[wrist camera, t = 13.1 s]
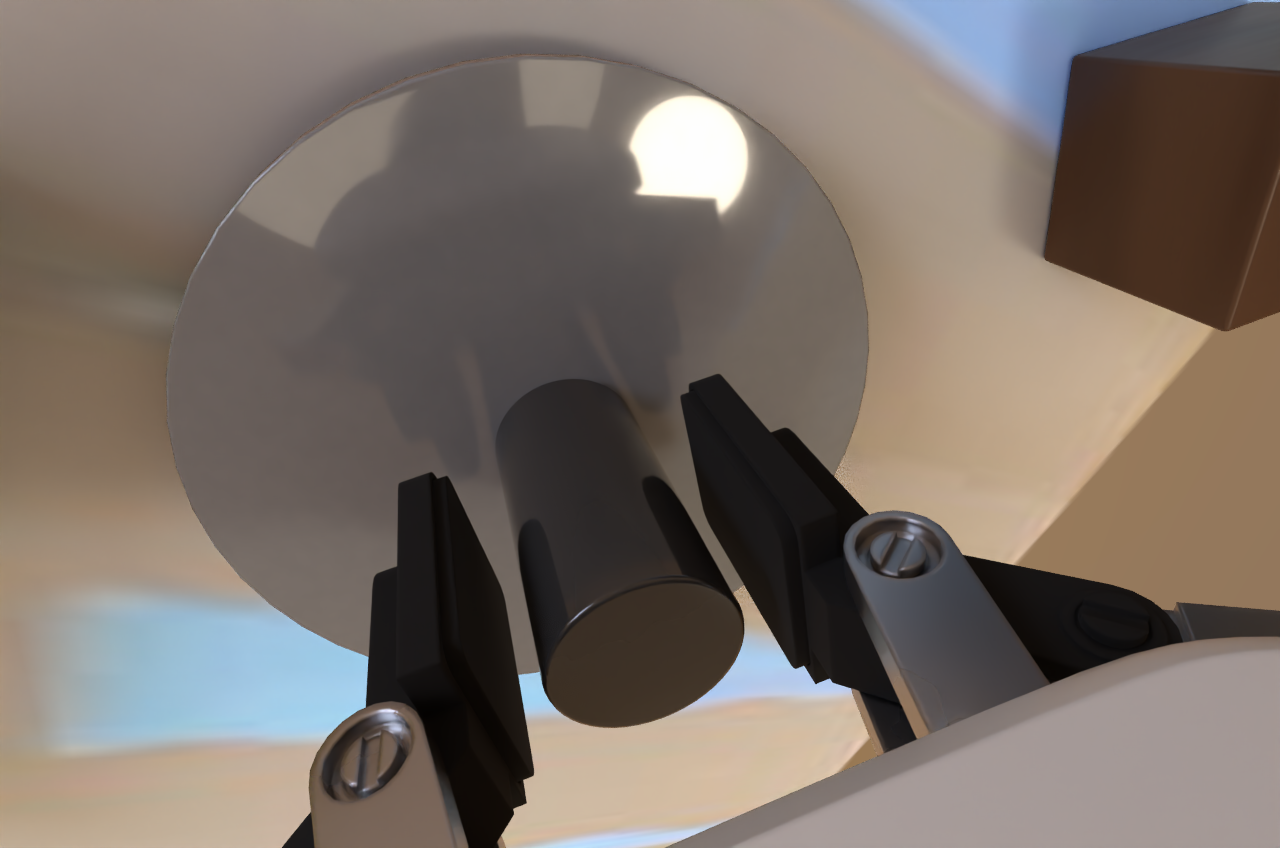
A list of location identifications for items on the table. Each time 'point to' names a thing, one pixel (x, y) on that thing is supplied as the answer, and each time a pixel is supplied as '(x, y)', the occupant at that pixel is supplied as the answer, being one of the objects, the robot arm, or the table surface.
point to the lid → (515, 357)
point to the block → (1177, 167)
